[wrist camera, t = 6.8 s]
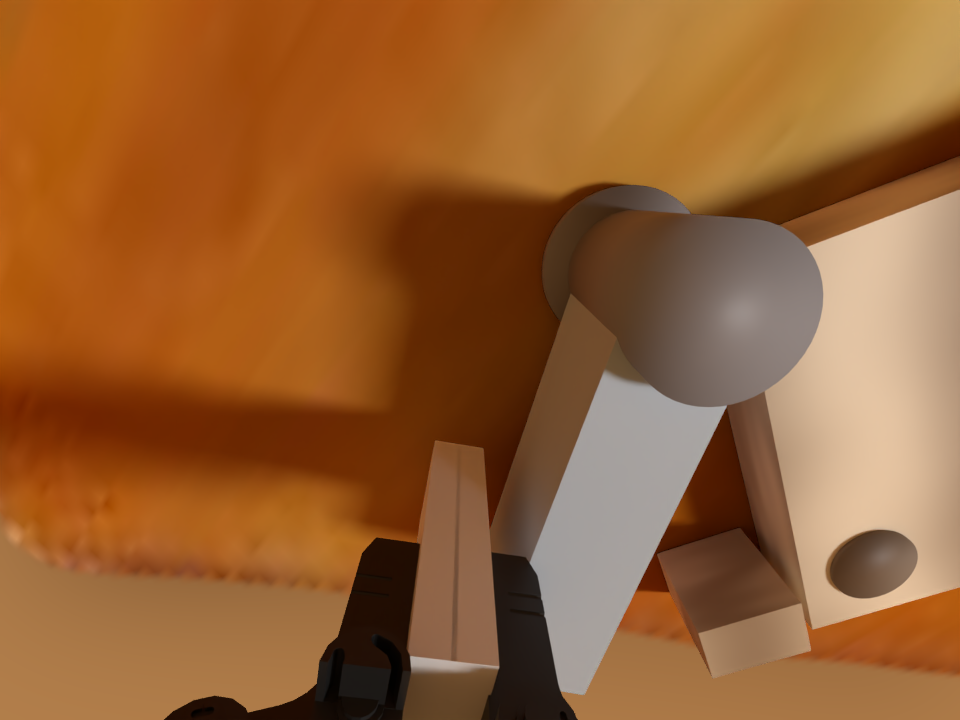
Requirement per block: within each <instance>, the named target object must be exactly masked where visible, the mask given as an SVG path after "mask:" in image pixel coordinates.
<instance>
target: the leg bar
mask: <svg viewBox="0 0 960 720" xmlns="http://www.w3.org/2000/svg"><path fill="white" fill-rule="evenodd" d="M568 282H569V289H570V293H571V294H570V297H569V300H568V303H567V306H566V308H565V311H564V314H563V317H562V320H561V323H560V326H559V329H558V332H557V335H556V338H555V341H554V343H553V346H552V349H551V352H550V355H549V358H548V361H547V364H546V367H545V370H544V373H543V376H542V379H541V381H540V384H539V387H538V390H537V393H536V396H535V399H534V402H533V405H532V408H531V411H530V414H529V417H528V419H527V422H526V425H525V428H524V431H523V434H522V437H521V440H520V443H519V446H518V449H517V452H516V454H515V457H514V460H513V463H512V466H511V469H510V472H509V475H508V478H507V481H506V484H505V487H504V490H503V492H502V495H501V498H500V501H499V504H498V507H497V510H496V513H495V516H494V519H493V522H492V525H491V528H490V544H491V552H494V553H501V554H508V555H515V556H522V557H526V558H527V560H528V561H529V563H530V564H531V566H532V568H533V569H534V571H535V572H536V574H537V575H538V580H539V585H540V591H541V600H542V601H543V606H544V612H545V614H544V617H546V622H547V627H548V633H549V638H550V643H551V648H552V654H553V659H554V664H555V669H556V675H557V680H558V685H559V688H560V691H564V692H569V693H575V694H581V695H584V694H585V692H586V690H587V688H588V686H589V684H590V682H591V680H592V678H593V676H594V674H595V672H596V670H597V668H598V666H599V664H600V662H601V660H602V658H603V656H604V654H605V652H606V650H607V647H608V646H609V643H610V642H611V640H612V638H613V636H614V633H615V632H616V629H617V627H618V625H619V623H620V621H621V619H622V617H623V615H624V613H625V611H626V609H627V607H628V605H629V603H630V601H631V599H632V597H633V595H634V593H635V591H636V589H637V587H638V585H639V583H640V581H641V579H642V577H643V575H644V573H645V571H646V569H647V567H648V565H649V563H650V561H651V559H652V557H653V555H654V553H655V551H656V549H657V547H658V545H659V542H660V540H661V538H662V536H663V534H664V532H665V530H666V528H667V526H668V524H669V522H670V520H671V518H672V516H673V514H674V512H675V510H676V508H677V506H678V504H679V502H680V500H681V498H682V496H683V494H684V492H685V490H686V488H687V486H688V484H689V482H690V480H691V478H692V476H693V474H694V472H695V470H696V468H697V466H698V464H699V462H700V460H701V458H702V456H703V453H704V451H705V449H706V447H707V445H708V443H709V441H710V439H711V437H712V435H713V433H714V431H715V429H716V427H717V425H718V423H719V421H720V419H721V417H722V415H723V413H724V411H725V409H726V407H727V405H731V404H735V403H738V402H742V401H745V400H747V399H750V398H752V397H754V396H757V395H758V394H760V393H762V392H764V391H766V390H767V389H769V388H770V387H772V386H773V385H775V384H776V383H777V382H779V381H780V380H781V379H782V378H783V377H785V376H786V375H787V374H788V373H789V372H790V371H791V370H792V369H793V368H794V367H795V365H796V364H797V363H798V362H799V360H800V359H801V358H802V357H803V355H804V354H805V352H806V351H807V349H808V347H809V346H810V344H811V342H812V340H813V338H814V336H815V333H816V331H817V328H818V325H819V322H820V318H821V313H822V308H823V284H822V279H821V274H820V270H819V268H818V265H817V263H816V260H815V259H814V257H813V255H812V254H811V252H810V250H809V249H808V248H807V247H806V245H805V244H804V243H803V242H802V241H801V240H800V239H799V238H798V237H796V236H795V235H794V234H793V233H792V232H790V231H788V230H786V229H785V228H783V227H781V226H779V225H776V224H774V223H771V222H768V221H763V220H759V219H749V218H736V217H723V216H710V215H696V214H683V213H670V212H657V211H644V210H626V211H621V212H617V213H614V214H611V215H609V216H607V217H605V218H603V219H601V220H600V221H598V222H597V223H595V224H594V225H593V226H592V227H591V228H590V229H589V230H588V231H587V232H586V233H585V234H584V235H583V236H582V238H581V239H580V241H579V242H578V244H577V246H576V247H575V249H574V252H573V254H572V257H571V260H570V264H569V271H568Z"/></svg>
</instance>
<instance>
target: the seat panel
mask: <svg viewBox="0 0 960 720" xmlns="http://www.w3.org/2000/svg"><path fill="white" fill-rule="evenodd" d="M626 210H644V211H657V212H670V213H683V214H691V213H690V212H689V211H688V209H687V208H686V207H685V206H684V205H683V204H682V203H681V202H679V201H678V200H677V199H676V198H674V197H673V196H671V195H669V194H668V193H666V192H663V191H661V190H658V189H656V188H652V187H647V186H639V185H627V186H616V187H610V188H606V189H603V190H600V191H597V192H595V193H593V194H591V195H589V196H587V197H585V198H584V199H582V200H580V201H579V202H577V203H576V204H575V205H574V206H573V207H571V208H570V209H569V210H568V211H567V212H566V213H565V214H564V216H563V217H562V218H561V219H560V220H559V222H558V223H557V225H556V226H555V227H554V229H553V231H552V233H551V235H550V237H549V239H548V242H547V244H546V247H545V251H544V255H543V260H542V284H543V289H544V293H545V296H546V299H547V301H548V303H549V306H550V307H551V309H552V311H553V312H554V314H555V315H556V317H557V318H558V319H559V321H560V322H561V320H562V317H563V314H564V311H565V308H566V306H567V303H568V300H569V297H570V294H571V293H570V289H569V282H568V271H569V264H570V260H571V257H572V254H573V252H574V249H575V247H576V246H577V244H578V242H579V241H580V239H581V238H582V236H583V235H584V234H585V233H586V232H587V231H588V230H589V229H590V228H591V227H592V226H593V225H594V224H595V223H597V222H598V221H600V220H601V219H603V218H605V217H607V216H609V215H611V214H614V213H617V212H621V211H626ZM779 226H781V227H783V228H785V229H786V230H788V231H790V232H792V233H793V234H794V235H795V236H796V237H798V238H799V239H800V240H801V241H802V242H803V243H804V244H805V245H806V247H807V248H808V249H809V250H810V252H811V254H812V255H813V257H814V259H815V260H816V263H817V265H818V268H819V270H820V274H821V279H822V284H823V308H822V313H821V318H820V322H819V325H818V328H817V331H816V333H815V336H814V338H813V340H812V342H811V344H810V346H809V347H808V349H807V351H806V352H805V354H804V355H803V357H802V358H801V359H800V360H799V362H798V363H797V364H796V365H795V367H794V368H793V369H792V370H791V371H790V372H789V373H788V374H787V375H786V376H785V377H783V378H782V379H781V380H780V381H779V382H777V383H776V384H775V385H773V386H772V387H770V388H769V389H767V390H766V391H764V392H762V393H760V394H758V395H757V396H754V397H752V398H750V399H747V400H745V401H742V402H738V403H735V404H731V405H727V411H728V415H729V419H730V424H731V428H732V432H733V436H734V441H735V445H736V449H737V453H738V458H739V462H740V466H741V470H742V475H743V479H744V483H745V487H746V492H747V496H748V500H749V504H750V509H751V513H752V517H753V521H754V525H755V530H756V534H757V538H758V542H759V547H760V551H761V553H760V552H759V550H758V549H757V548H756V547H755V546H754V544H753V543H752V542H751V541H750V539H749V538H748V537H747V536H746V535H745V533H744V532H743V531H742V530H741V528H737V529H733V530H730V531H727V532H724V533H721V534H718V535H714V536H711V537H708V538H705V539H702V540H699V541H696V542H692V543H689V544H686V545H683V546H680V547H677V548H673V549H670V550H667V551H664V552H661V553H658V554H657V556H658V559H659V562H660V565H661V568H662V571H663V574H664V577H665V580H666V583H667V586H668V589H669V592H670V595H671V597H672V599H673V600H674V602H675V604H676V606H677V608H678V610H679V612H680V614H681V616H682V618H683V620H684V622H685V624H686V626H687V628H688V630H689V632H690V634H691V636H692V638H693V640H694V642H695V644H696V646H697V648H698V650H699V652H700V654H701V656H702V658H703V660H704V662H705V664H706V666H707V668H708V670H709V672H710V674H711V676H712V678H716V677H719V676H722V675H726V674H730V673H733V672H737V671H740V670H744V669H747V668H751V667H754V666H758V665H762V664H765V663H769V662H772V661H776V660H779V659H783V658H786V657H790V656H793V655H797V654H800V653H804V652H807V651H811V647H810V642H809V637H808V633H807V628H806V623H805V621H806V622H807V623H808V624H809V626H810V627H811V628H812V629H816V628H820V627H823V626H827V625H830V624H834V623H837V622H840V621H844V620H847V619H851V618H854V617H858V616H861V615H865V614H868V613H872V612H875V611H879V610H882V609H886V608H889V607H893V606H896V605H899V604H903V603H906V602H910V601H913V600H917V599H920V598H924V597H927V596H931V595H934V594H938V593H941V592H945V591H948V590H951V589H955V588H958V587H960V156H958V157H955V158H952V159H950V160H947V161H945V162H942V163H939V164H937V165H934V166H932V167H929V168H926V169H924V170H921V171H919V172H916V173H913V174H911V175H908V176H905V177H903V178H900V179H898V180H895V181H892V182H890V183H887V184H885V185H882V186H879V187H877V188H874V189H872V190H869V191H866V192H864V193H861V194H859V195H856V196H853V197H851V198H848V199H846V200H843V201H840V202H838V203H835V204H833V205H830V206H827V207H825V208H822V209H819V210H817V211H814V212H812V213H809V214H806V215H804V216H801V217H799V218H796V219H793V220H791V221H788V222H786V223H783V224H780V225H779Z"/></svg>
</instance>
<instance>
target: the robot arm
mask: <svg viewBox="0 0 960 720" xmlns="http://www.w3.org/2000/svg"><path fill="white" fill-rule="evenodd" d="M544 614H545V612H544V606H543V601H542V600H541V591H540V585H539V580H538V575H537V574H536V572H535V571H534V569H533V568H532V566H531V564H530V563H529V561H528V560H527V558H526V557H522V556H515V555H508V554H501V553H494V552H491V544H490V530H489V516H488V502H487V489H486V475H485V461H484V448H480V447H474V446H468V445H462V444H456V443H449V442H443V441H437V440H435V443H434V448H433V453H432V459H431V464H430V469H429V475H428V480H427V485H426V490H425V496H424V501H423V506H422V512H421V517H420V524H419V531H418V538H417V543H412V542H405V541H398V540H390V539H383V538H376V539H375V540H374V541H373V542H372V543H371V544H370V545H369V546H368V547H367V548H366V550H365V551H364V552H363V553H362V556H361V559H360V563H359V566H358V569H357V573H356V577H355V580H354V583H353V587H352V590H351V594H350V597H349V600H348V604H347V607H346V611H345V615H344V618H343V621H342V625H341V628H340V631H339V635H338V637H337V638H336V639H335V640H334V641H333V642H332V643H330V644H329V645H328V646H327V649H326V650H325V652H324V654H323V656H322V658H321V660H320V662H319V670H318V678H317V684H316V685H315V686H314V687H313V688H312V689H310V690H309V691H308V692H307V693H305V694H304V695H302V696H300V697H299V698H297V699H295V700H293V701H290V702H287V703H285V704H282V705H279V706H274V707H270V708H266V709H262V710H257V711H253V712H249V713H248V712H247V710H246V708H245V707H243V706H242V705H241V704H239V703H238V702H236V701H235V700H234V699H231V698H225V697H219V696H212V697H207V698H202V699H198V700H194V701H192V702H190V703H188V704H186V705H184V706H182V707H181V708H179V709H177V710H175V711H173V712H172V713H171V714H170V715H169V716H167V718H165V719H164V720H577V718H576V716H575V713H574V711H573V710H572V708H571V707H570V706H569V704H568V703H567V702H566V701H565V699H564V698H563V697H562V694H561V691H560V688H559V685H558V680H557V675H556V669H555V664H554V659H553V654H552V648H551V643H550V638H549V633H548V627H547V622H546V617H544Z"/></svg>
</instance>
